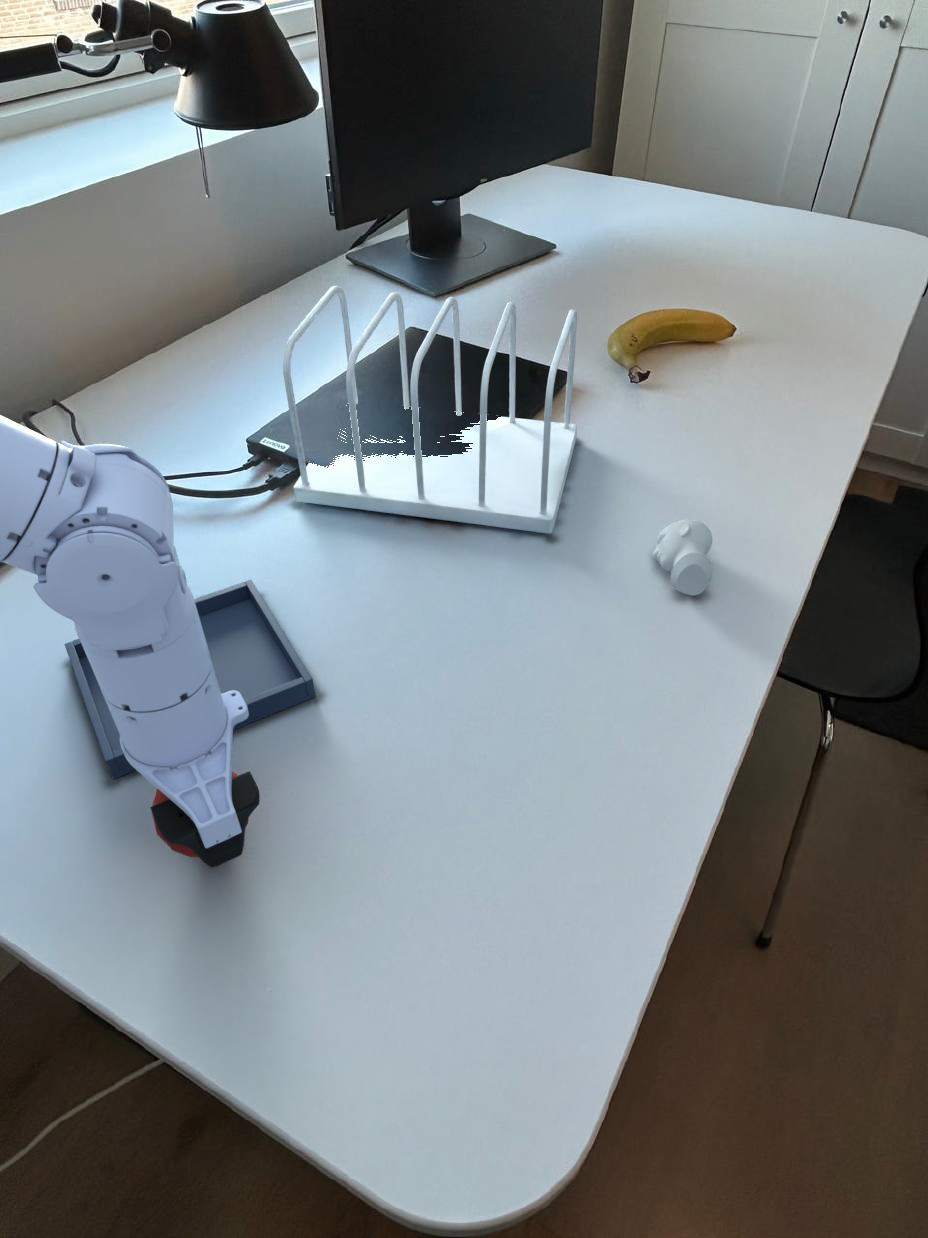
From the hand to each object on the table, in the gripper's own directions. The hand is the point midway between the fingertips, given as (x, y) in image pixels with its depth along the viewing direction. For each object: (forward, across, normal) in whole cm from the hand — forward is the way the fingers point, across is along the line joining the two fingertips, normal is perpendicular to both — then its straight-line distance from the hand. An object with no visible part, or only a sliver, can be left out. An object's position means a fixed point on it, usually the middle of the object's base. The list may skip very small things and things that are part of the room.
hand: (208, 819), depth 56 cm
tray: (+2, +15, -3) cm, 15 cm away
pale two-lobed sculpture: (+3, +6, -44) cm, 44 cm away
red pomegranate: (+3, 0, 0) cm, 3 cm away
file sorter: (+3, +30, -34) cm, 45 cm away
